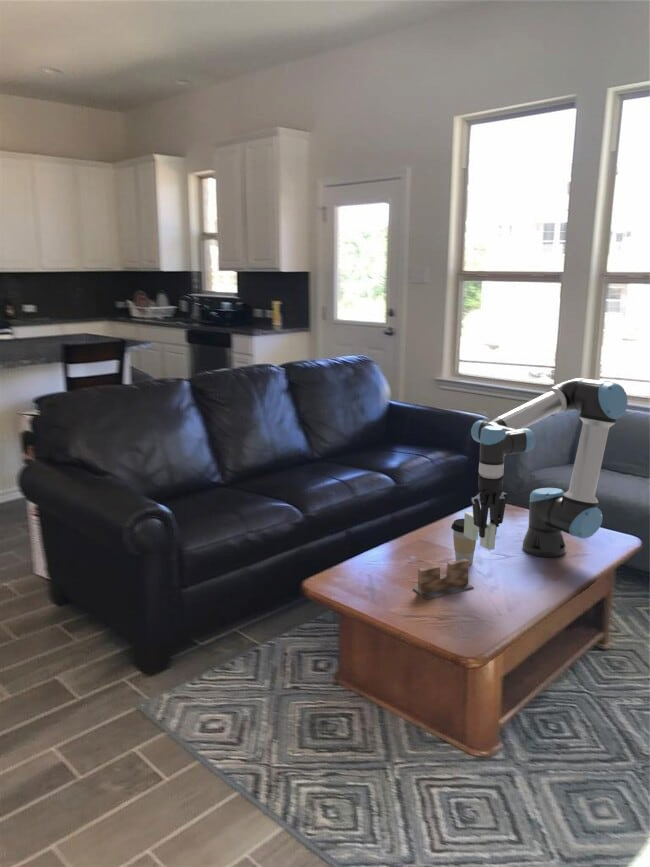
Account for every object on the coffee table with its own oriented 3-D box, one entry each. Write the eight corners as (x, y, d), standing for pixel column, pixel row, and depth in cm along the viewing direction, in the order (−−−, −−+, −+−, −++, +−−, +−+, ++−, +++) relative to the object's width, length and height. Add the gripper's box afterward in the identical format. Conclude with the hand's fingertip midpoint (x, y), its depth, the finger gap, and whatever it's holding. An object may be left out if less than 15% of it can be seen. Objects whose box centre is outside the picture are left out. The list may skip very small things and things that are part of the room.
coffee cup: (477, 568, 241) (478, 528, 238) (450, 566, 243) (451, 526, 240) (477, 557, 250) (478, 518, 247) (450, 555, 252) (451, 517, 249)
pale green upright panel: (463, 535, 232) (464, 512, 231) (468, 534, 233) (469, 511, 231) (489, 550, 220) (490, 526, 218) (494, 549, 221) (495, 525, 219)
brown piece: (459, 578, 234) (460, 555, 232) (473, 588, 227) (474, 564, 225) (413, 589, 227) (413, 565, 225) (426, 599, 220) (426, 574, 218)
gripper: (502, 469, 224) (498, 538, 229) (463, 475, 218) (460, 545, 223) (517, 475, 217) (513, 546, 222) (478, 481, 211) (474, 553, 216)
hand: (487, 545), depth 223 cm, fingers closed on pale green upright panel, 2 cm apart
